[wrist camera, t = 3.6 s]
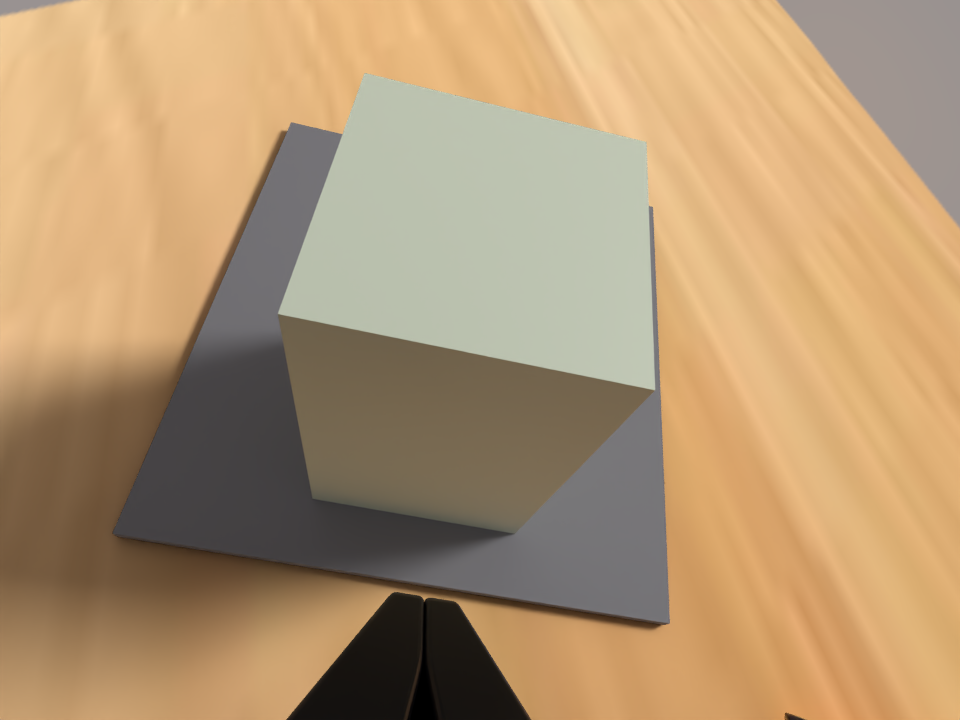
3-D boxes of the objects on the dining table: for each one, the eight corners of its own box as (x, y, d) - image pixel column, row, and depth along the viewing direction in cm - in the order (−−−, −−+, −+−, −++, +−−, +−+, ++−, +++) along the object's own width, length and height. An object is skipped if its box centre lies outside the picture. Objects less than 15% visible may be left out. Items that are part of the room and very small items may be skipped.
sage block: (515, 533, 15) (655, 390, 8) (312, 498, 14) (278, 313, 7) (530, 362, 17) (645, 142, 11) (358, 327, 17) (364, 73, 10)
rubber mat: (664, 624, 15) (669, 623, 14) (117, 536, 13) (112, 533, 13) (649, 212, 22) (652, 207, 22) (291, 129, 21) (291, 122, 20)
